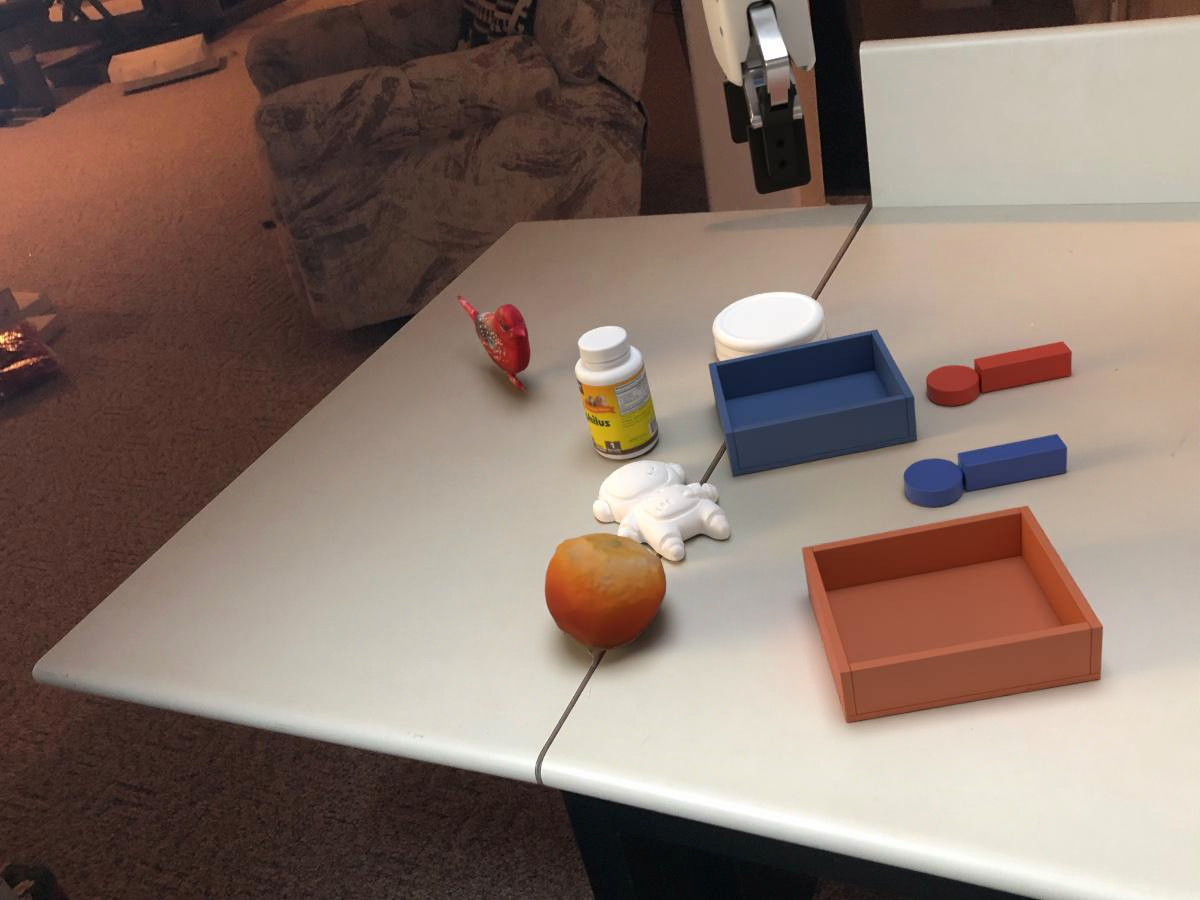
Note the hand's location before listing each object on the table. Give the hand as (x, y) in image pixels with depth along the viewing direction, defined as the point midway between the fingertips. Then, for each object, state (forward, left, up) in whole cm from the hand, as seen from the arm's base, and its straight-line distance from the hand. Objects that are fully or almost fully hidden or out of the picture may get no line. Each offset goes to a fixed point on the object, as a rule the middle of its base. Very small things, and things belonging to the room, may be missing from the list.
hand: (769, 161), depth 67 cm
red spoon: (-16, -9, -25) cm, 31 cm away
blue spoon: (-11, +3, -25) cm, 28 cm away
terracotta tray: (-4, +17, -25) cm, 31 cm away
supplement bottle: (+14, -11, -25) cm, 31 cm away
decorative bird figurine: (+25, -27, -25) cm, 44 cm away
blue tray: (-1, -9, -25) cm, 27 cm away
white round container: (0, -22, -25) cm, 33 cm away
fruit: (+16, +11, -25) cm, 32 cm away
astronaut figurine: (+12, 0, -25) cm, 28 cm away
